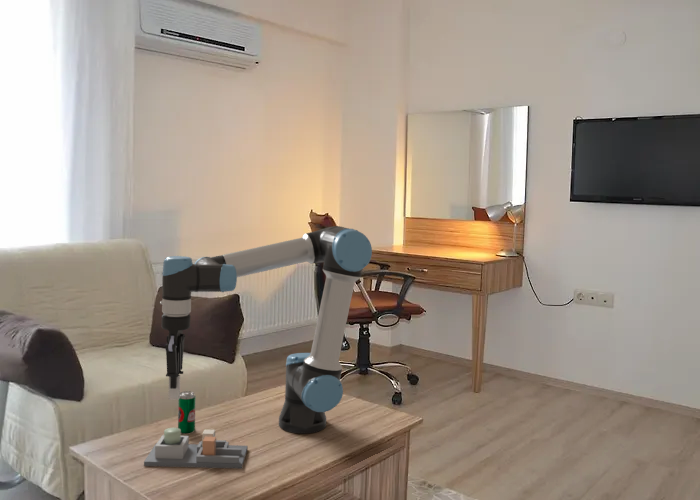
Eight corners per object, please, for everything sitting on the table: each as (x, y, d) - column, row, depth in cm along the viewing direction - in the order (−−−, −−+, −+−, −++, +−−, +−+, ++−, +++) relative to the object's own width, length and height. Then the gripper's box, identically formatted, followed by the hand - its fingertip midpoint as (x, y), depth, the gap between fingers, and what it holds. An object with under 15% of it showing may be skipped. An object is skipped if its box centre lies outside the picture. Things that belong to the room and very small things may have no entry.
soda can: (190, 435, 191) (191, 396, 190) (174, 433, 192) (175, 395, 191) (197, 429, 196) (198, 391, 195) (182, 427, 197) (183, 389, 196)
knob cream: (214, 446, 181) (215, 429, 180) (212, 451, 178) (213, 433, 177) (204, 446, 181) (204, 429, 180) (202, 450, 178) (202, 433, 177)
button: (182, 438, 178) (182, 427, 178) (178, 444, 174) (178, 434, 173) (166, 437, 178) (166, 427, 178) (162, 444, 174) (162, 433, 173)
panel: (247, 449, 183) (247, 434, 183) (241, 468, 171) (242, 452, 171) (156, 447, 182) (156, 431, 182) (143, 465, 170) (144, 449, 170)
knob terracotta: (215, 454, 176) (215, 436, 175) (213, 459, 173) (214, 441, 172) (204, 454, 176) (204, 436, 175) (202, 458, 173) (202, 441, 172)
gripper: (168, 308, 178) (166, 390, 181) (155, 318, 165) (153, 406, 168) (195, 309, 179) (192, 391, 181) (185, 319, 166) (182, 407, 168)
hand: (174, 398), depth 174 cm, fingers closed
